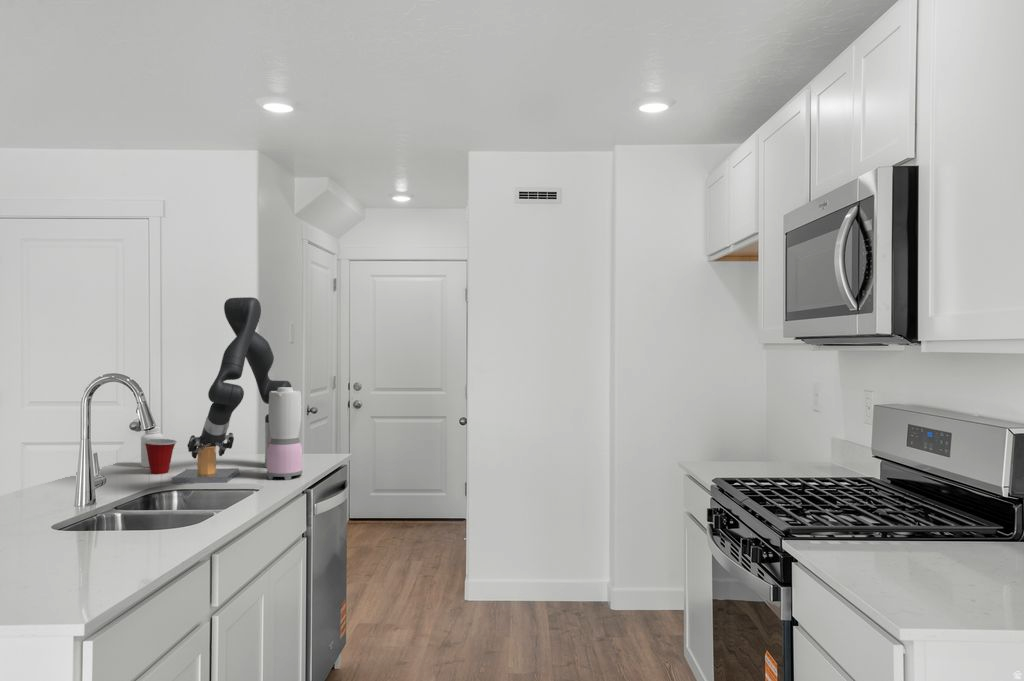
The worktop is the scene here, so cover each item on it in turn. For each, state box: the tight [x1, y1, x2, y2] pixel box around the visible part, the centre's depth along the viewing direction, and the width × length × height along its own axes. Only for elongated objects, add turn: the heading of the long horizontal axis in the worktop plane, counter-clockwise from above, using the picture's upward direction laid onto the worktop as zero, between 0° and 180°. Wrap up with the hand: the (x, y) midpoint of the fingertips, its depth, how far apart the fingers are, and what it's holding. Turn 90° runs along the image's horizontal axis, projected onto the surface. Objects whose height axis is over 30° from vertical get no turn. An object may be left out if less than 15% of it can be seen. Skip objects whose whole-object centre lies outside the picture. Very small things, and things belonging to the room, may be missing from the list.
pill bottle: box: [140, 425, 165, 468], centre depth 276 cm, size 8×8×15 cm
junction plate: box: [171, 467, 240, 485], centre depth 252 cm, size 16×18×6 cm
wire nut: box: [196, 444, 217, 475], centre depth 252 cm, size 6×6×10 cm
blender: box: [266, 387, 303, 481], centre depth 257 cm, size 16×12×32 cm
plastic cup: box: [144, 438, 178, 475], centre depth 262 cm, size 11×11×12 cm
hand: (207, 455), depth 251 cm, fingers open, 8 cm apart
